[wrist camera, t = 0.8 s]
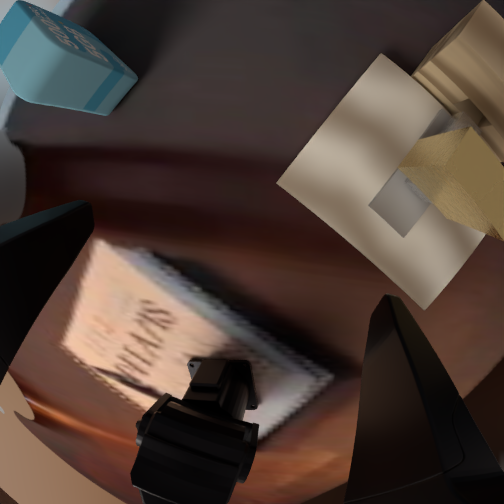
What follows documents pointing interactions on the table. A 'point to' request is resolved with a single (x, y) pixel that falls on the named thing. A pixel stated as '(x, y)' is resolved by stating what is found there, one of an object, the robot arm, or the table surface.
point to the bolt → (459, 176)
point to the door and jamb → (404, 154)
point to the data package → (60, 62)
